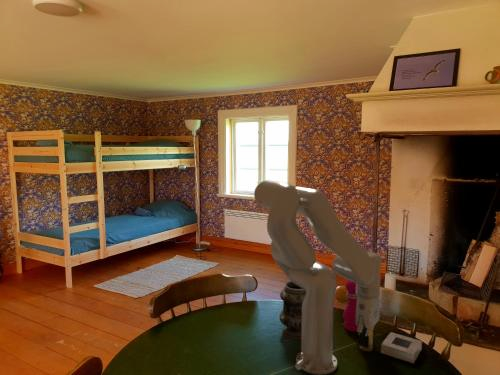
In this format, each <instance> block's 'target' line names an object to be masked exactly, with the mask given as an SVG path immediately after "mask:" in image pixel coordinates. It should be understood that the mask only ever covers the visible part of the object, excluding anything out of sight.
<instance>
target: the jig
mask: <svg viewBox="0 0 500 375" xmlns="http://www.w3.org/2000/svg"><path fill="white" fill-rule="evenodd" d="M422 344H423V341H422V340H419V339H416V338H413V337H410V336H407V335H402V334H399V333H395V332H392V331H391V332H390V333H389V334H388V335H387V336H386V337H385V339H384V340H383V341H382V342H381V344H380V346H381V347H380V353H381V354H383V355H387V356H390V357H393V358H396V359H399V360H401V361H405V362H408V363H411V364H415V362H416V360H417V358H418V356H419V355H420V352H422V346H423V345H422Z"/></svg>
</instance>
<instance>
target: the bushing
mask: <svg viewBox="0 0 500 375" xmlns="http://www.w3.org/2000/svg"><path fill="white" fill-rule="evenodd" d="M363 325H365V324H363ZM363 330H365V331H366V329H365V328H363ZM368 336H369V347H368V348H366V347H363V346H360V345H359V349H360V350H362V351H364V352H371V351H373V342H374V341H373V327H372V328H371V329H368Z"/></svg>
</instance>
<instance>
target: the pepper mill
mask: <svg viewBox="0 0 500 375" xmlns="http://www.w3.org/2000/svg"><path fill="white" fill-rule="evenodd" d="M345 289H346V291H347V292H346V296H347V304H346V305H345V308H344V310H343V313H342V318H343V319H344V324H343V326H344V328H345V329H346V330H347V331H349V332H358V331H357V328H358V326H357V325H356V306H357V297H358V296H357V295H356V283H355V282H353V281H350V280H348V279H347V281H346V283H345Z"/></svg>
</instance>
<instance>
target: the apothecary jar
mask: <svg viewBox="0 0 500 375" xmlns="http://www.w3.org/2000/svg"><path fill="white" fill-rule="evenodd" d="M279 296H280V299H281V300H282V301H283V302H282V303H283V307H282V310H281V311H280V313H279V321H280V323H282V325H283V326H284V327H283V328H282V331H281V332H282V334H283V336H284V337H287V338H289V339H293V340H301V330H302V303H303V300H304V299H305V296H306V291H305V290H304V289H302V288H301V287H299V286H297V285H296V284H294V283H293V282H292V281H291V280H290V281H287V282H285V284H284V288H283V289H281V291H280V292H279Z"/></svg>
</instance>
